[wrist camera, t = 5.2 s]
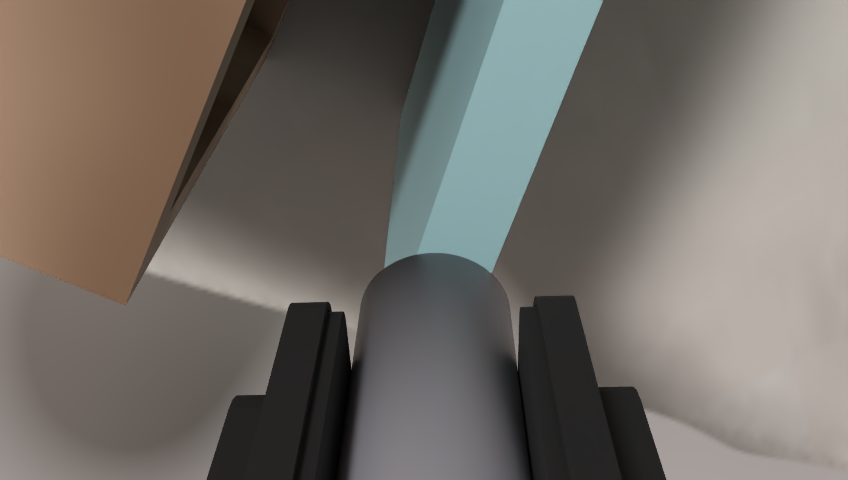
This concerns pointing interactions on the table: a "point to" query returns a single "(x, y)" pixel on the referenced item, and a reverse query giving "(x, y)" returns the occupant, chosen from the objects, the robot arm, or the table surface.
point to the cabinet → (114, 124)
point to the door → (457, 246)
